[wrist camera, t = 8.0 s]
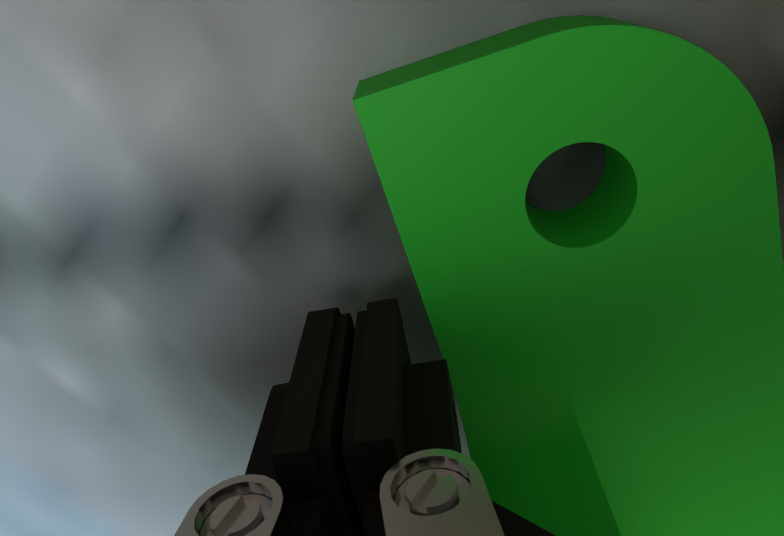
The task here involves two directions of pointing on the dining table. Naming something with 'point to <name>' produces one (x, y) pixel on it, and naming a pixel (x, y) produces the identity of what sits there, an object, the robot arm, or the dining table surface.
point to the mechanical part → (597, 274)
